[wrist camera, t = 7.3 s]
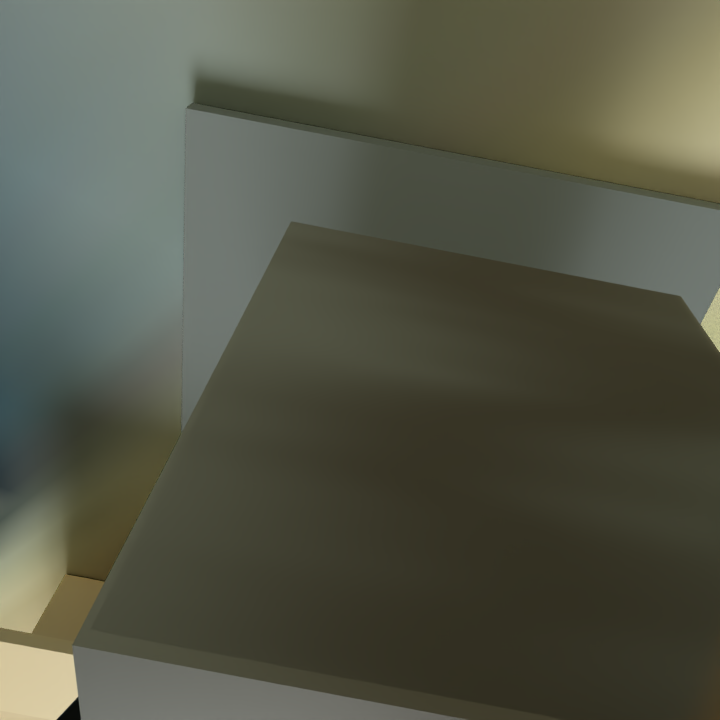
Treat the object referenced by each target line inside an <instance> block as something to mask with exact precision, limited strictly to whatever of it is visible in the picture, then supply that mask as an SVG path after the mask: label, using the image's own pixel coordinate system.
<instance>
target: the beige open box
mask: <svg viewBox="0 0 720 720" xmlns="http://www.w3.org/2000/svg"><path fill="white" fill-rule="evenodd" d="M103 584H104V581H99V580H94V579H88V578H83V577H77V576H72V575H67V574H65V576H64V578H63V579H62V581H61V583H60V585H59V586H58V588H57V590H56V592H55V593H54V595H53V597H52V599H51V600H50V602H49V604H48V606H47V607H46V609H45V611H44V613H43V614H42V616H41V618H40V620H39V621H38V623H37V625H36V627H35V628H34V630H33V632H32V634H31V633H25V632H20V631H15V630H9V629H4V628H0V720H56V719H57V718H58V717H59V716H60V715H61V714H62V713H63V712H64V711H65V710H66V709H67V708H68V707H69V706H70V705H71V704H72V702H73V701H74V700H75V699H76V698H77V697H78V690H77V682H76V674H75V666H74V657H73V649H72V644H73V642H74V640H75V639H76V637H77V635H78V633H79V631H80V629H81V627H82V625H83V623H84V621H85V619H86V617H87V615H88V613H89V611H90V609H91V608H92V606H93V604H94V602H95V600H96V598H97V596H98V594H99V592H100V590H101V588H102V586H103Z"/></svg>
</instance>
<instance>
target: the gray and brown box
mask: <svg viewBox="0 0 720 720" xmlns="http://www.w3.org/2000/svg"><path fill="white" fill-rule="evenodd" d="M72 649H73V657H74V666H75V674H76V682H77V690H78V699H79V707H80V715H81V720H720V352H719V351H718V350H717V348H716V347H715V345H714V344H713V342H712V341H711V339H710V338H709V336H708V335H707V334H706V332H705V331H704V329H703V328H702V326H701V325H700V323H699V322H698V320H697V319H696V317H695V316H694V315H693V313H692V312H691V310H690V309H689V307H688V306H687V304H686V303H685V301H684V300H683V299H682V297H681V296H678V295H673V294H667V293H662V292H657V291H652V290H647V289H641V288H636V287H631V286H626V285H621V284H615V283H610V282H605V281H600V280H594V279H589V278H584V277H579V276H574V275H568V274H563V273H558V272H553V271H548V270H542V269H537V268H532V267H527V266H522V265H516V264H511V263H506V262H501V261H496V260H490V259H485V258H480V257H475V256H470V255H464V254H459V253H454V252H449V251H443V250H438V249H433V248H428V247H423V246H417V245H412V244H407V243H402V242H397V241H391V240H386V239H381V238H376V237H371V236H365V235H360V234H355V233H350V232H345V231H339V230H334V229H329V228H324V227H319V226H313V225H308V224H303V223H298V222H292V221H291V222H290V224H289V226H288V228H287V230H286V232H285V234H284V236H283V238H282V240H281V242H280V244H279V246H278V248H277V249H276V251H275V253H274V255H273V257H272V259H271V261H270V263H269V265H268V267H267V269H266V271H265V273H264V275H263V277H262V278H261V280H260V282H259V284H258V286H257V288H256V290H255V292H254V294H253V296H252V298H251V300H250V302H249V304H248V306H247V308H246V309H245V311H244V313H243V315H242V317H241V319H240V321H239V323H238V325H237V327H236V329H235V331H234V333H233V335H232V337H231V338H230V340H229V342H228V344H227V346H226V348H225V350H224V352H223V354H222V356H221V358H220V360H219V362H218V364H217V366H216V368H215V369H214V371H213V373H212V375H211V377H210V379H209V381H208V383H207V385H206V387H205V389H204V391H203V393H202V395H201V397H200V399H199V400H198V402H197V404H196V406H195V408H194V410H193V412H192V414H191V416H190V418H189V420H188V422H187V424H186V426H185V428H184V429H183V431H182V433H181V435H180V437H179V439H178V441H177V443H176V445H175V447H174V449H173V451H172V453H171V455H170V457H169V459H168V460H167V462H166V464H165V466H164V468H163V470H162V472H161V474H160V476H159V478H158V480H157V482H156V484H155V486H154V488H153V489H152V491H151V493H150V495H149V497H148V499H147V501H146V503H145V505H144V507H143V509H142V511H141V513H140V515H139V517H138V519H137V520H136V522H135V524H134V526H133V528H132V530H131V532H130V534H129V536H128V538H127V540H126V542H125V544H124V546H123V548H122V549H121V551H120V553H119V555H118V557H117V559H116V561H115V563H114V565H113V567H112V569H111V571H110V573H109V575H108V577H107V579H106V580H105V582H104V584H103V586H102V588H101V590H100V592H99V594H98V596H97V598H96V600H95V602H94V604H93V606H92V608H91V609H90V611H89V613H88V615H87V617H86V619H85V621H84V623H83V625H82V627H81V629H80V631H79V633H78V635H77V637H76V639H75V640H74V642H73V644H72Z"/></svg>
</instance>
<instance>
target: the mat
mask: <svg viewBox="0 0 720 720" xmlns="http://www.w3.org/2000/svg"><path fill="white" fill-rule="evenodd" d="M291 221H292V222H298V223H303V224H308V225H313V226H319V227H324V228H329V229H334V230H339V231H345V232H350V233H355V234H360V235H365V236H371V237H376V238H381V239H386V240H391V241H397V242H402V243H407V244H412V245H417V246H423V247H428V248H433V249H438V250H443V251H449V252H454V253H459V254H464V255H470V256H475V257H480V258H485V259H490V260H496V261H501V262H506V263H511V264H516V265H522V266H527V267H532V268H537V269H542V270H548V271H553V272H558V273H563V274H568V275H574V276H579V277H584V278H589V279H594V280H600V281H605V282H610V283H615V284H621V285H626V286H631V287H636V288H641V289H647V290H652V291H657V292H662V293H667V294H673V295H678V296H681V297H682V299H683V300H684V301H685V303H686V304H687V306H688V307H689V309H690V310H691V312H692V313H693V315H694V316H695V317H696V319H697V320H698V322H699V323H700V324H701V322H702V320H703V318H704V316H705V314H706V312H707V310H708V308H709V307H710V305H711V303H712V301H713V299H714V297H715V295H716V293H717V291H718V289H719V287H720V204H719V203H713V202H708V201H703V200H698V199H692V198H687V197H682V196H677V195H671V194H666V193H661V192H656V191H651V190H645V189H640V188H635V187H630V186H624V185H619V184H614V183H609V182H604V181H598V180H593V179H588V178H583V177H577V176H572V175H567V174H562V173H556V172H551V171H546V170H541V169H536V168H530V167H525V166H520V165H515V164H509V163H504V162H499V161H494V160H488V159H483V158H478V157H473V156H468V155H462V154H457V153H452V152H447V151H441V150H436V149H431V148H426V147H421V146H415V145H410V144H405V143H400V142H394V141H389V140H384V139H379V138H373V137H368V136H363V135H358V134H353V133H347V132H342V131H337V130H332V129H326V128H321V127H316V126H311V125H305V124H300V123H295V122H290V121H285V120H279V119H274V118H269V117H264V116H258V115H253V114H248V113H243V112H238V111H232V110H227V109H222V108H217V107H211V106H206V105H201V104H196V103H192V104H191V105H189V106H188V107H187V108H186V124H185V198H184V271H183V345H182V419H181V433H182V431H183V429H184V428H185V426H186V424H187V422H188V420H189V418H190V416H191V414H192V412H193V410H194V408H195V406H196V404H197V402H198V400H199V399H200V397H201V395H202V393H203V391H204V389H205V387H206V385H207V383H208V381H209V379H210V377H211V375H212V373H213V371H214V369H215V368H216V366H217V364H218V362H219V360H220V358H221V356H222V354H223V352H224V350H225V348H226V346H227V344H228V342H229V340H230V338H231V337H232V335H233V333H234V331H235V329H236V327H237V325H238V323H239V321H240V319H241V317H242V315H243V313H244V311H245V309H246V308H247V306H248V304H249V302H250V300H251V298H252V296H253V294H254V292H255V290H256V288H257V286H258V284H259V282H260V280H261V278H262V277H263V275H264V273H265V271H266V269H267V267H268V265H269V263H270V261H271V259H272V257H273V255H274V253H275V251H276V249H277V248H278V246H279V244H280V242H281V240H282V238H283V236H284V234H285V232H286V230H287V228H288V226H289V224H290V222H291Z"/></svg>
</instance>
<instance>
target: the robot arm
mask: <svg viewBox="0 0 720 720" xmlns="http://www.w3.org/2000/svg"><path fill="white" fill-rule="evenodd" d="M56 720H81V715H80V707H79V699H78V697H77V698H76V699H75V700H74V701H73V702H72V704H71V705H70V706H69V707H68V708H67V709H66V710H65V711H64V712H63V713H62V714H61V715H60V716H59V717H58V718H57V719H56Z"/></svg>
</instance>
